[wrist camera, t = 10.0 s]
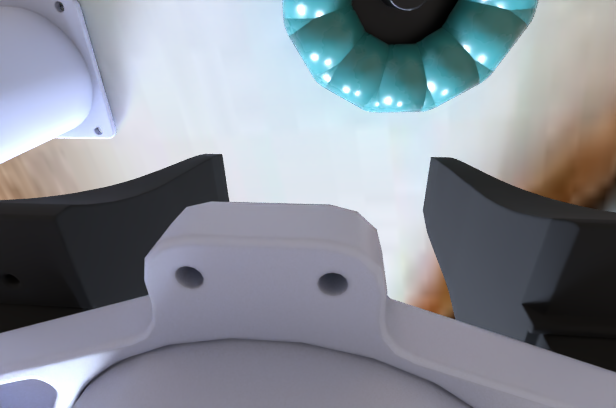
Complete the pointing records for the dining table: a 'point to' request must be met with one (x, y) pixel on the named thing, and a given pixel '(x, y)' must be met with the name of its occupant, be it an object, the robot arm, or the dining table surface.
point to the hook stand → (402, 18)
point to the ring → (404, 52)
